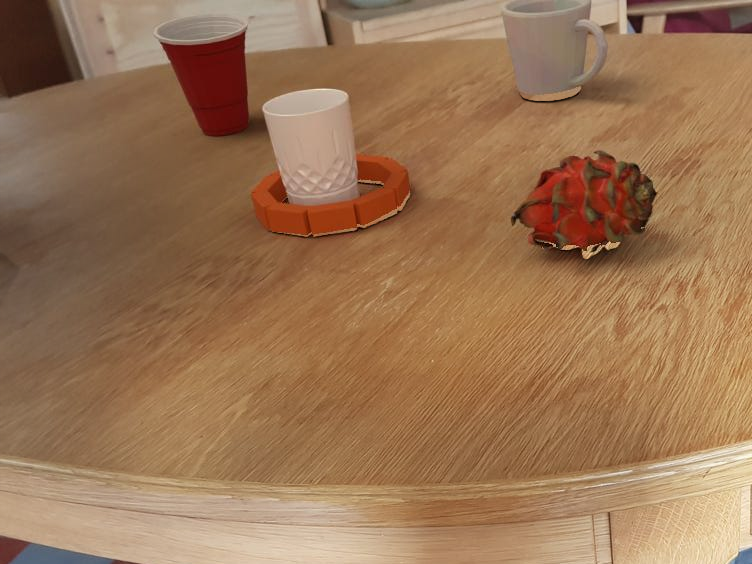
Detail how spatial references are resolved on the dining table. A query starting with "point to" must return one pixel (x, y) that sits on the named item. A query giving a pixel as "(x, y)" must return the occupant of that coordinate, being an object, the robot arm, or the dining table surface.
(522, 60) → the mug
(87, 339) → the dining table surface
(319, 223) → the ring
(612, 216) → the dragon fruit
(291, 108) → the white cup
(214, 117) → the plastic cup
